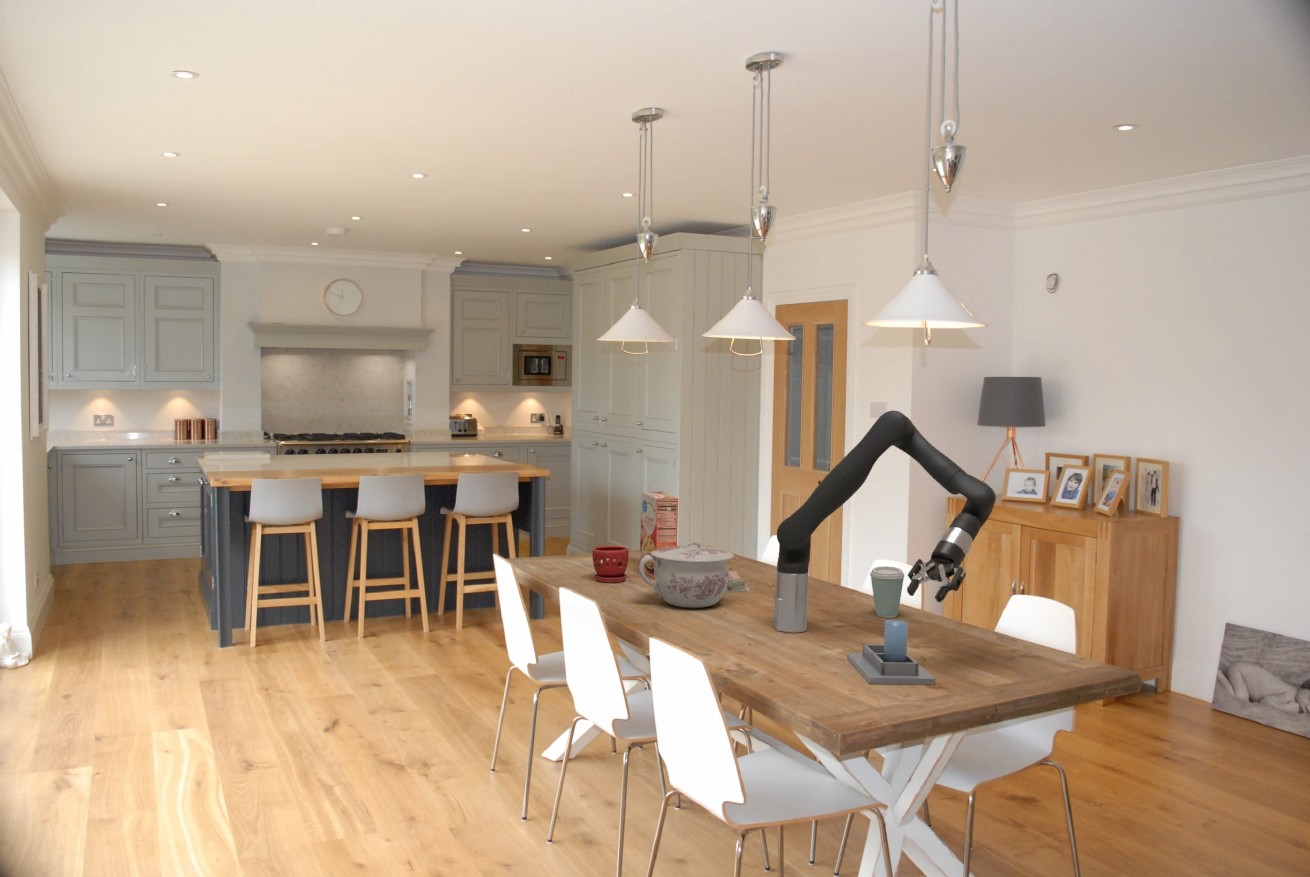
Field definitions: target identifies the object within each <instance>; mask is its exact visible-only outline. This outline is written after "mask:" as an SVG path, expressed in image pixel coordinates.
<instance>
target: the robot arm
mask: <svg viewBox="0 0 1310 877" xmlns="http://www.w3.org/2000/svg"><path fill="white" fill-rule="evenodd" d="M892 446H893V447H895V448H897V449H899V450H901V451H902V452H904V453H905V454H907V455H908V456H910V458H912V459H913V460H914V461H915V462H917V463H918V464H919V465H920V467H922V468H923V469H924V470H925V472H926V473H927V474H929V476H930V477H931V478H932V479H934V481H935V482H937V483H938V484H939V485H940V486H941V487H942V488H944V489H945V490H946V492H948V493H950V494H951V495H954V496H955V495H959V494H960V495H962V496H963V497H965V498H966V501H965V503H964V505H963V508H962V510H961V511H960V513H958V514H957V515H956V516H955V517H954V518H953V520H952V522H951V523H950V525H949V526H948V528H947V530H945V532H944V533H943V534H942V536H941V538H940V540H938V543H937V545H936V546H935V548H934V549H933V550H932V553H931V556H930V560H928V561H927V562H926V561H923V560H922V559H921V558H919V559H917V561H916V562H915V563H914V565H913V566H912V568H911V569H910V571H909V572H908V573H907V576H908V579H909V580H910V583H909V584H908V586H907V587H906V591H907V593H908V595H909V596H910V597H913V596H914V595H915V593H916V591H917V590H918V589H919V586H920V585H921V584H922V583H924V582H925V583H927V582H929V581H936V582H939V583H942V585H941V586H940V587H939V589H938V591H937V592H936V594H935V596H934V599H935V600H936V602H938V603H942V602H943V601H944V600H945V599H946V597H947V595H948V593H949V592H951V591H954V592H958V591H959V589H960V587H961V585H962V583H963V582H964V579H965V578H966V576H967V573H966V571H965V569H964V568H963V567H962V566H961V565H962V563H963V561H964V560H965V558H966V557H967V555H968V553H969V551H970V549H971V547H972V544H973V542H974V541H975V539H976V537H977V536H978V534H979V532H980V530H981V528H982V527H983V526H984V524H985V523H986V522H987V521H988V519H989V517H990V516H991V514H992V512H993V508H994V506H995V503H996V497H997V496H996V493H995V491H994V490H993V488H992V487H991V486H990V485H989V484H988V483H986V482H985V481H983V480H981V479H979V478H977V477H975V476H973V475H971V474H968V473H967V472H966V471H965V470H964V469H962V468H961V467H960V466H959V465H958V464H957V463H956V462H955V461H953V460H952V459H950V458H949V457H948V456H947V455H945V454H944V453H943V452H941V451H940V450H939V449H938V448H936V447H935V446H934V445H933V444H932V443H930V442H929V441H928V440H927V439H926V438H925V437H924V436H923V434H921V432H920V431H919V430H918V428H917V427H916V426H915V425H914V423H913V422H912V420H911V419H910V418H909V417H908V416H907V415H905V414H904V413H903V412H901V411H899V410H889V411H886V412H884V413H883V414H881V415H880V416H879V417H878V419H876V421H875V422H874V423H873V424H872V426H871V427H870V429H869V430H868V431H867V432H866V434H865V435H864V436H863V437H862V438H861V440H860V441H859V442H858V443H857V444H856V445H855V446H854V447H853V448H852V449H851V450H850V451H849V452H848V453H847V454H846V455H845V456H844V457H843V458H842V460H840V461H839V462H838V463H837V464H836V465H835V466H834V467H833V468H832V469H831V470H830V471H829V473H828V474H827V475H826V476H825V477H824V478H823V479H822V480H821V482H820V483H819V484H818V485H817V487H815V489H814V490H813V492H812V493H811V494H810V496H809V497H808V499H807V500H806V501H805V502H804V503H803V504H802V505H801V506H800V507H799V508H798V509H797V510H796V511H795V512H794V513H792V514H791V515H790V516H789V517H786V518H785V519H784V520H782V522H781V523H780V524H778V527H777V529H776V539H777V543H778V544H779V545H778V546H779V547H778V558H777V563H776V586H775V587H776V591H775V594H774V605H773V608H774V609H773V627H774V629H775V630H776V631H777V632H784V633H802V632H806V631H807V629H808V628H807V627H808V626H807V625H808V599H809V596H808V595H809V573H810V572H809V567H810V560H811V543H812V534H813V533H814V532H815V531H816V530H817V528H818V527H819V526H820V525H821V524H822V522H823V521H825V520H826V519H827V518H828V517H830V516H831V515H832V514H834V512H836V511H837V510H838V509H839V508H840V507H842V506H843V505H844V504H845V503H846V502H848V500H849V499H850V498H851V497H852V496H854V494H856V492H858V491H859V489H860V488H861V487H862V486H863V484H864V483H865V482H866V480H867V478H868V476H870V473H871V471H872V469H873V467H874V465H875V464H876V462H877V461H878V460H879V459H880V457H881V456H882V455H883V454H884V453H885V452H886V451H887V450H888V449H890V448H891V447H892ZM925 574H926V575H925ZM951 577H952V579H951V580H950V578H951Z"/></svg>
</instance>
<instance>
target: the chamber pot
mask: <svg viewBox="0 0 1310 877" xmlns="http://www.w3.org/2000/svg"><path fill="white" fill-rule="evenodd" d="M651 555H652V556H653V557H652V556H650V555H646V556H644V557H643V558H642V559H641V561H640V560H639V562H638V569H637V570H638V573H639V576H640V578H641V579H642V580H643V581H644V582H645V583H646V584H648V586H650V587H652V588H653V589H654V590H655V591H656V593H657V594H658V595H659V596H660V597H661V598H662V599H663V601H664V602H665V603H667V604H669V605H671V606H673V607H677V608H682V609H689V610H690V609H691V610H692V609H697V608H698V609H704V608H709V607H712V606H714V605H716V604H717V603H718V602H719V601H720V600H721V598H722V597H723V595H724V593H726V592H725V591H726V589H727V585H728V581H729V571H731V570H730V568H729V567H728V564H727V561H730V560H732V559H734V557H735V554H733V552H730V551H728V550H725V549H723V548H718V547H712V546H707V545H705V546H704V545H701V544H700V542H699V541H695V540H693V541H688V542H686V543H685V544H684V545H683V544H682V545H677V546H669V547H663V548H659V549H655V550H653V551H652V552H651ZM655 557H656V558H658V560H657V559H656V558H655ZM648 561H651V562H654V576H655V580H654V582H653V581H651V580H649V578H648V577H647V576H646V573H645V572H644V565H645V562H648Z"/></svg>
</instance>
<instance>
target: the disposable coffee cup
mask: <svg viewBox="0 0 1310 877" xmlns="http://www.w3.org/2000/svg"><path fill="white" fill-rule="evenodd" d="M869 576H870V581H871V588H872V589H871V590H872V593H873V594H872V595H873V601H874V602H873V603H874V608H875V609H874V610H875V613H876V616H877V617H880V618H886V619H892V618H897V616H898V614H899V609H900V603H901V597H902V590H903V585H904V578H905V573H904V572H903V570H902V569H901V568H899V567H895V566H876V567H873V568H872V569H871V571H870V572H869Z"/></svg>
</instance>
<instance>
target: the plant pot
mask: <svg viewBox="0 0 1310 877" xmlns="http://www.w3.org/2000/svg"><path fill="white" fill-rule="evenodd" d="M607 559H608V560H607ZM601 561H602V562H601ZM592 563H593V567H594V571H595V573H596V574H595V575H594V578H595V579H596V580H597V581H598V582H601V583H620V582H621V583H622V582H623V581H625V580H626V579H627V577H628V574H626V571H627V569H628V565H629V564H628V563H629V548H628V547H626V546H618V545H617V546H616V545H607V546H598V547H593V548H592Z"/></svg>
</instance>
